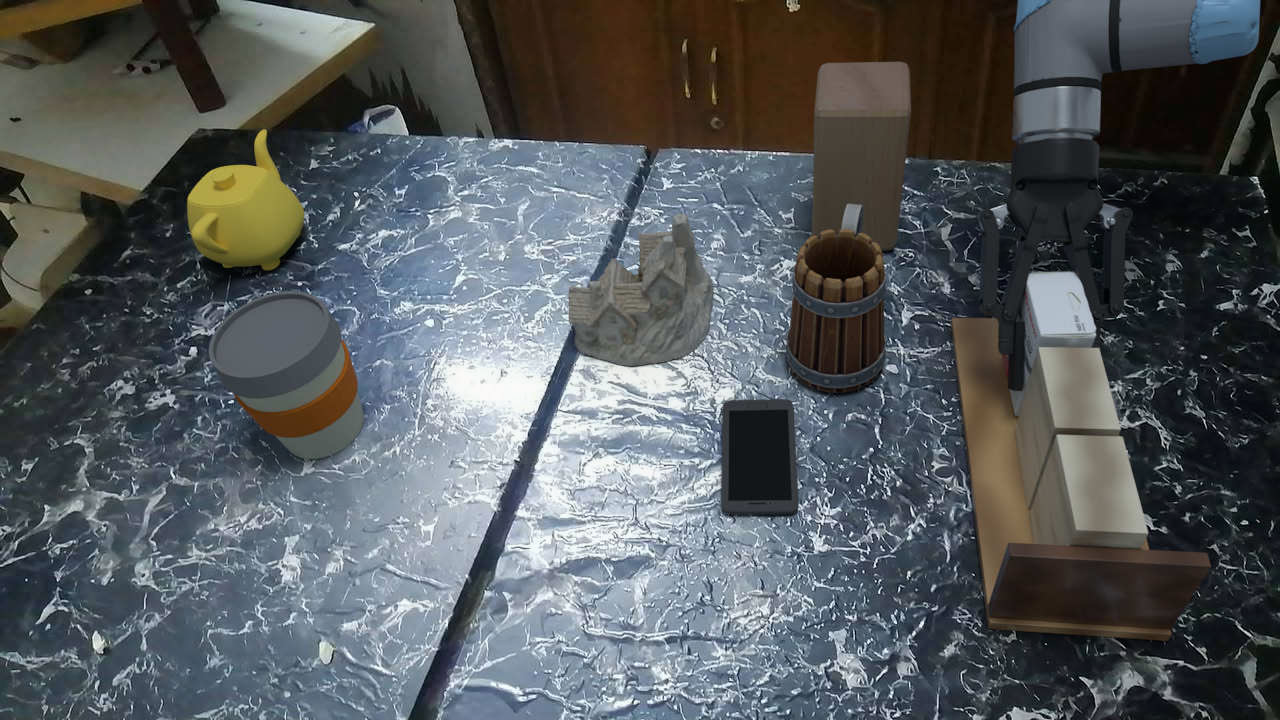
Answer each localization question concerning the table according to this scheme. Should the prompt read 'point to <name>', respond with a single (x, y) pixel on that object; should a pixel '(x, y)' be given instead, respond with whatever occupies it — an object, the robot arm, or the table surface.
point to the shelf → (1060, 500)
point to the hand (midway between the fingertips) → (1046, 390)
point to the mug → (838, 309)
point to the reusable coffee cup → (290, 372)
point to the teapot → (245, 213)
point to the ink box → (1051, 320)
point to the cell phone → (759, 457)
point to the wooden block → (861, 146)
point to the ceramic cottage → (646, 303)
